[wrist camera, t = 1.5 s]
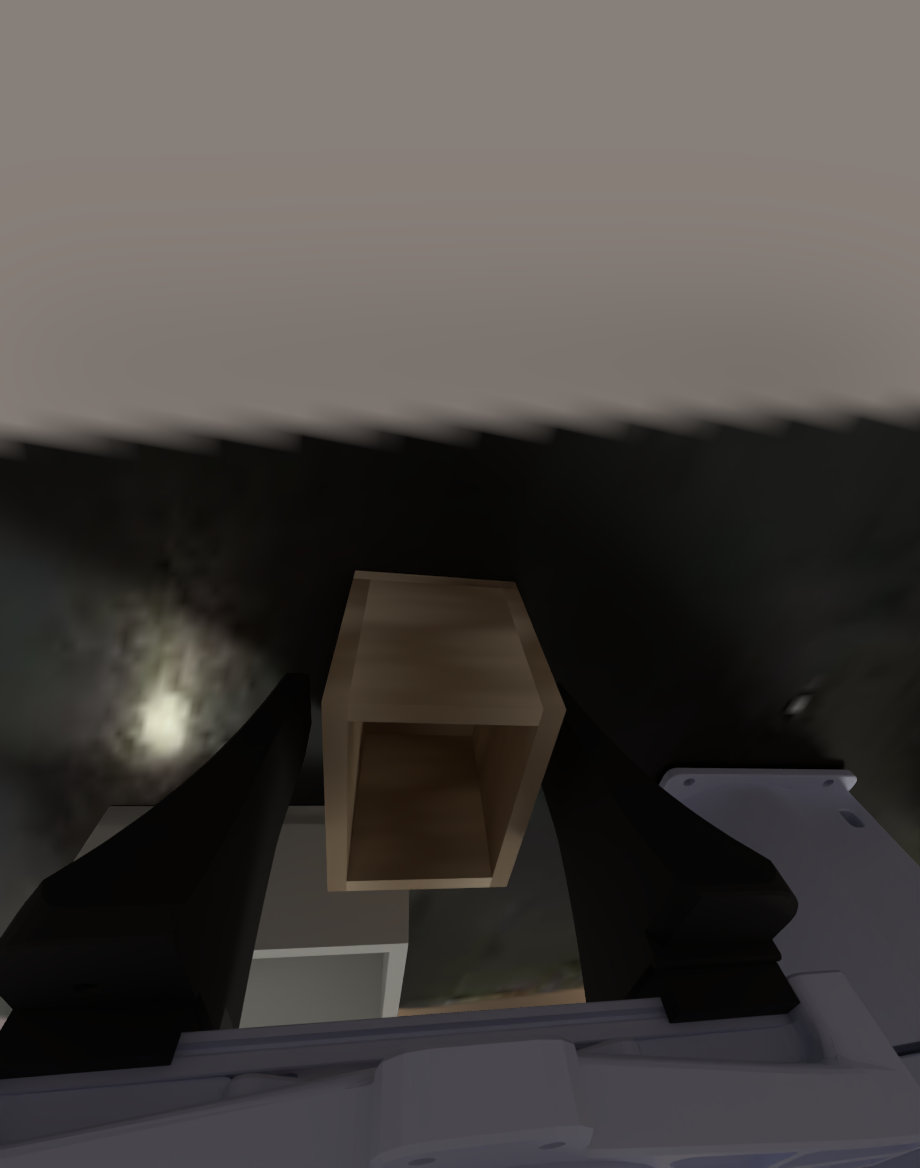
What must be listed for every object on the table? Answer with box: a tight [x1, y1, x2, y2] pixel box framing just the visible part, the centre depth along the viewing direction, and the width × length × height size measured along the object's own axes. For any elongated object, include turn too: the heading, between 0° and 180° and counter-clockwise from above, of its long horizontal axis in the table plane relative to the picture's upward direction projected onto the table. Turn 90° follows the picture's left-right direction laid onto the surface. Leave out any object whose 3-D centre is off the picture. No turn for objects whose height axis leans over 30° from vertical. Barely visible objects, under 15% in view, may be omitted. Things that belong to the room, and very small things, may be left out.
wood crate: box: [321, 570, 566, 892], centre depth 13 cm, size 5×7×6 cm
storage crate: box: [73, 806, 409, 1028], centre depth 19 cm, size 12×12×5 cm
